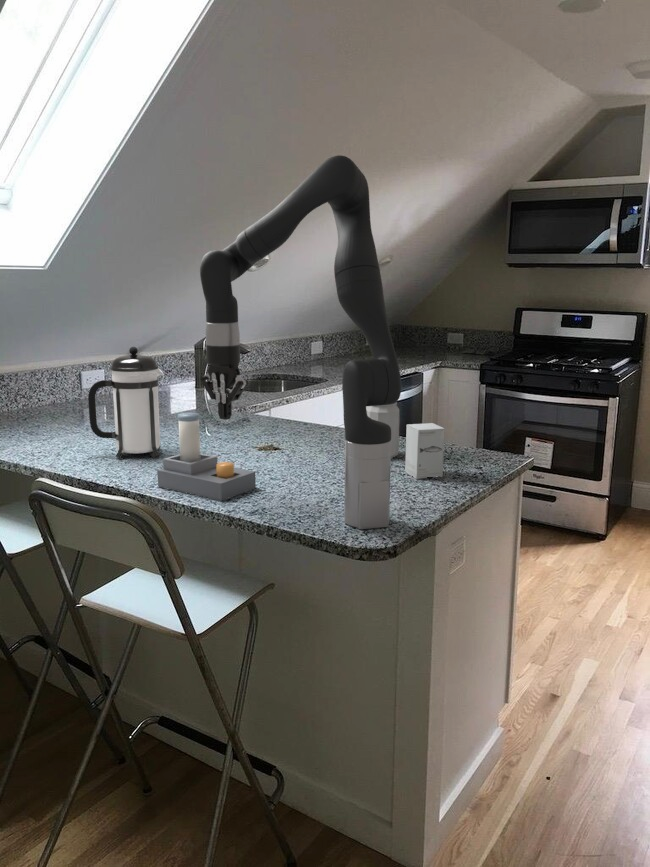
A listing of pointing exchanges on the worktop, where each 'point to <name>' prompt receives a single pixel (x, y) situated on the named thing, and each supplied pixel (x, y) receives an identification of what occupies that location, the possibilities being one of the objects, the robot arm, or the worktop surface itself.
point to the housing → (203, 478)
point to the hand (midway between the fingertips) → (224, 418)
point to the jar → (387, 422)
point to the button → (225, 470)
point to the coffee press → (132, 404)
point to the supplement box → (424, 450)
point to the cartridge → (189, 437)
